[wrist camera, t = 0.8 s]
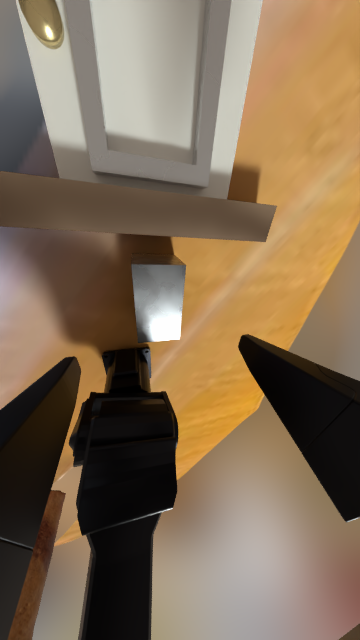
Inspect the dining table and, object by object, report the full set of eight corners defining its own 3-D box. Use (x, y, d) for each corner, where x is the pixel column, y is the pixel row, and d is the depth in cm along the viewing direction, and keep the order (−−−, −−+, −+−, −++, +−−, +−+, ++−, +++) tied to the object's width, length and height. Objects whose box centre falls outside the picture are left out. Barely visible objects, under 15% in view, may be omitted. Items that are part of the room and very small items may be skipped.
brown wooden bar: (248, 238, 19) (265, 242, 16) (20, 224, 13) (-5, 226, 11) (256, 207, 17) (276, 205, 15) (2, 177, 12) (-32, 166, 9)
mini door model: (222, 203, 16) (232, 201, 15) (64, 184, 13) (54, 179, 11) (275, -109, 9) (307, -182, 7) (-62, -345, 5) (-145, -584, 4)
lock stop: (170, 316, 22) (179, 338, 18) (137, 318, 21) (138, 343, 17) (173, 254, 18) (186, 265, 14) (131, 253, 17) (131, 264, 13)
